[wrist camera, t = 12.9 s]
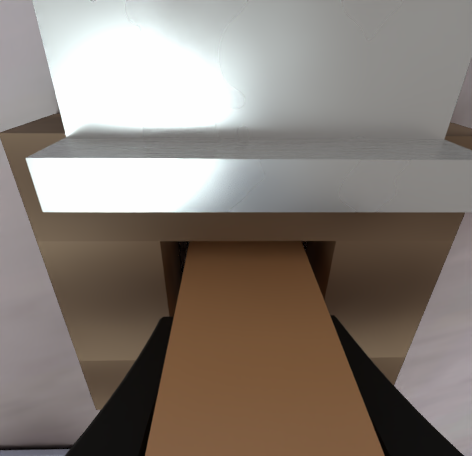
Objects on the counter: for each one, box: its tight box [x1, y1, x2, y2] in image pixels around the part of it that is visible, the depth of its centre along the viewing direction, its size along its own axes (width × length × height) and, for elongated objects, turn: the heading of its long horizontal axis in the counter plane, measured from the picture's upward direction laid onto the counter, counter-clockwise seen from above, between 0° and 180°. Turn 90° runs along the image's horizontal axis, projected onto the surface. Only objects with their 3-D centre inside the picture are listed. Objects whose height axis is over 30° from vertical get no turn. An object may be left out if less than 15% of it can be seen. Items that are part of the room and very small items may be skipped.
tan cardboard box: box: [145, 241, 385, 456], centre depth 9 cm, size 4×4×8 cm
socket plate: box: [0, 114, 472, 410], centre depth 12 cm, size 12×13×3 cm
